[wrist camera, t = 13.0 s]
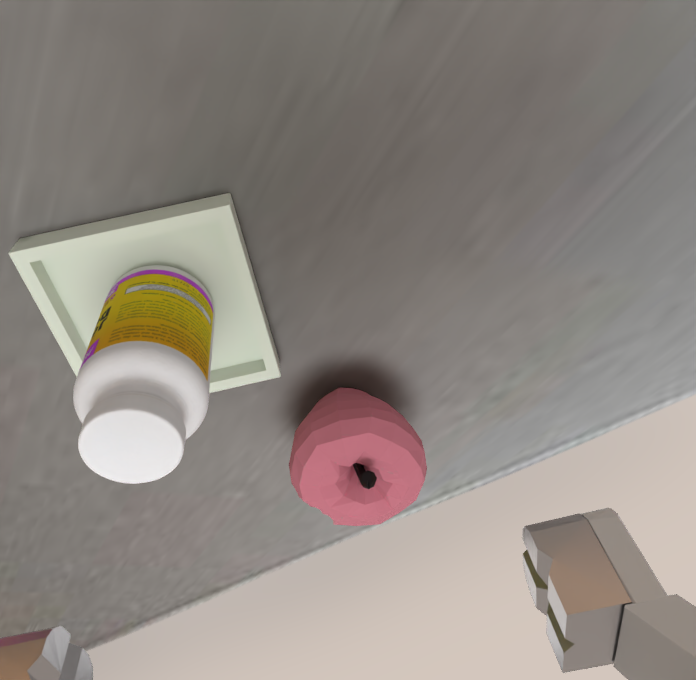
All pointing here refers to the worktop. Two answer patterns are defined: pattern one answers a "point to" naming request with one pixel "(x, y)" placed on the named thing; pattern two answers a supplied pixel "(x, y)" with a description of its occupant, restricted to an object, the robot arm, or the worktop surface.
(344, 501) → the apple
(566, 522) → the robot arm
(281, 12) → the worktop surface
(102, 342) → the supplement bottle
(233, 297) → the tray
